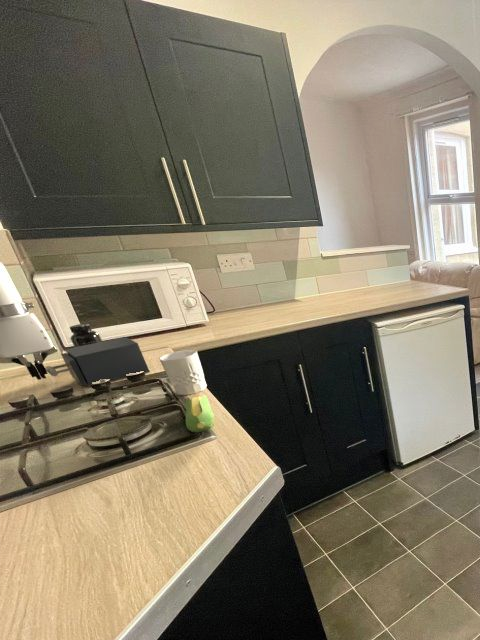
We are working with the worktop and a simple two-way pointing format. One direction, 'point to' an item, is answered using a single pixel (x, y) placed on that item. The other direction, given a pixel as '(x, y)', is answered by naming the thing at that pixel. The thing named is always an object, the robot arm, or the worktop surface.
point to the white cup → (184, 371)
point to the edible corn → (198, 414)
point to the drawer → (68, 369)
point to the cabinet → (108, 359)
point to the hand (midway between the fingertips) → (41, 377)
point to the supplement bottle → (84, 335)
